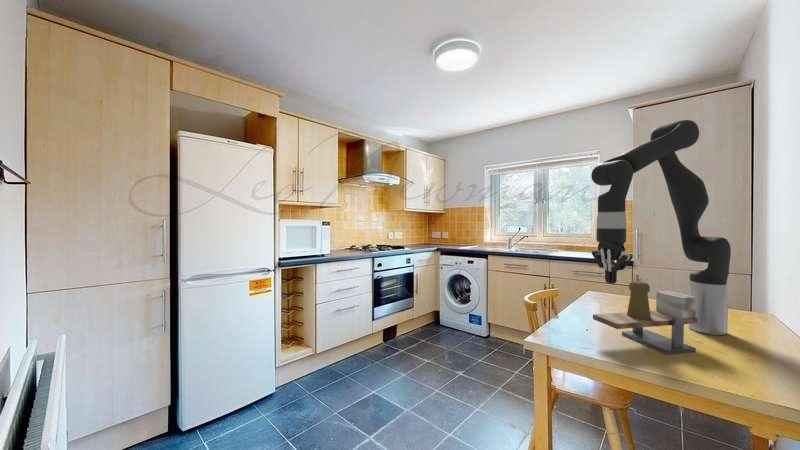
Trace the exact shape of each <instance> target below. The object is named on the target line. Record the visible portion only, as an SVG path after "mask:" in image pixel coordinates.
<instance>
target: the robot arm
mask: <svg viewBox="0 0 800 450" xmlns="http://www.w3.org/2000/svg"><path fill="white" fill-rule="evenodd" d="M650 133H651V134H650V138H649V139H650V141H646V142H644V143H641V144H639V145H637V146H634V147H633V148H630V149H629V150H626V151H625V152H624V153H622V154H620V155H617V156H615V157H612V158H610V159H608V160H607V159H606V160H604V161H603V162H600V163H598V164H597V165H595V167H594V168H593V169H592V171H591V174H590V176H591V180H592V182H593V183H595V185H598V186H604V187H605V186H610V188H609V190H608V191H606V192H603V193H601V194H599V195H598V197H597V215H596V239H595V241H596V242H597V243H598V245H597V249H596V250H592V251H591V255H592V256H593V257H592V258H594V260H595V262H596V263H597V266H598V267H599V268H600V269H601V268H602V269H603V271H604V280H605V283H606V284H610V285H614V284H617V281H618V280H617V276H618V271H623V270H624V269H625V268H626V267H627V265H628V264H629V263H630V262H631V261H632V259H633V258H634V257H633V255H632V254H628V253H627V252H626V247H625V243H627V215H626V199H627V197H628V196H627V195H628V192H629V189H630V186H631V183H632V181H633V180H632V179H633V176H634V174H636V173H638V172H639V171H641V170H643V169H644V168H646V167H648V166H649V165H651V164H652V163H654V162H658V164H659V167H660V169H661V170H662V174H663V176H664V181H665V182H666V187H667V189H668V194H669V197H670V201H671V204H672V206H673V207H672V208H673V209H674V212H675V215H676V219H677V223H678V229H679V233H680V234H679V235H680V239H681V244H682V250H683V253H684V256H685V257H686V259H688V260H689V261H692V262H696V263H705V264H707V267H706V268H705V269H703V270H697V271H691V272H690V274H689V290H688V291H689V292H688V293H689V296H693V297H696V318H697V323H695V324H688V329H690V330H692V331H695V332H698V333H701V334H708V335H713V336H725V335H726V334H727V333H728V324H729V323H728V320H729V318H728V316H729V315H728V314H729V312H728V311H729V307H728V305H727V296H728V295H727V293H728V291H727V289H728V288H727V287H728V277H729V275H730V263H731V253H732V248H731V244H730V242H729V241H728V239H727V238H725V237H720V236H704V235H703V236H702V235H701V233H700V231H699V222H700V220H701V218H702V216H703V214H704V213H705V212H706V209H707V207H708V205H709V203H710V202H709V199H710V198H709V195H708V191H707V188H706V184H705V182H704V181H703V180H702V179H701V178H700V177H699V176H698V175H697V174H696V173H694V172H693V171H692V170H691V169H689V167H688V168H687V166H685V165H684V164H683V163H682V162H681V161H680V160H679V157H678V155H677V153H676V152H678V151H680V150H684V149H687V148H690V147H692V146H694V144H695V143H697V141H698V140H699V137H700V129H699V126H698V124H697V123H696V122H695V121H694V120H690V119H683V120H678V121H674V122H671V123H668V124H663V125H660V126H657V127H655V128H653V129H652V131H651V132H650Z"/></svg>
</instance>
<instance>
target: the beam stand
mask: <svg viewBox="0 0 800 450" xmlns="http://www.w3.org/2000/svg"><path fill="white" fill-rule="evenodd" d="M684 333H685V324H684V318H681V317H677V318H672V326H671V338H670V337H667V336H665V335H663V334H659V333H657V332H654V331H651V330H650V329H644V327H639V328H632V330H623V331H621V335H622V336H623V337H626V338H628V339H630V340H633V341H635V342H637V343H640V344H641V345H645V346H646V347H649V348H652V349H654V350H656V351H658V352H661V353H664V354H665V355H676V354H677V355H679V354H687V353H688V354H689V353H696V350H697V347H694V346H692V345H689V344H687V343H684V335H685V334H684Z"/></svg>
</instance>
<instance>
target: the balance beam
mask: <svg viewBox="0 0 800 450" xmlns="http://www.w3.org/2000/svg"><path fill="white" fill-rule="evenodd" d="M655 296H656V298H655V299H656V300H655V302H656V303H655V305H656V306H655V310H650V314H651V319H649V320H643V319H636V318H632V317H629V316H628V315H627V312H628V311H627V312H626V311H625V312H613V313H612V312H611V313H610V312H609V313H593V314H592V320H594V321H597V322H599V323H602V324H604V325H607V326H609V327H611V328H613V329H616V330H621V329H624V330H625V329H633V328H639V327H643V328H650V327H664V326H671V327H672V318H677V317H681V318H684V325H689V324H695V323H697V318H696V297H693V296H689V295H688V294H684V293H679V292H675V291H670V290H664V291H663V290H662V291H661V290H660V291H656V295H655Z"/></svg>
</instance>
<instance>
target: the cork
mask: <svg viewBox="0 0 800 450" xmlns="http://www.w3.org/2000/svg"><path fill="white" fill-rule="evenodd" d="M628 288H629V290H630V294H629V295H630V296H629V301H628V305H627V315H628V316H629V317H632V318H636V319H643V320H649V319H651V314H650V311H651V309H650V303H649V295H648V294H649V292H650V290H651V287H650V284H649V283H648V282H644V281H640V280H639V281H638V280H634V281H630V282H629V284H628Z"/></svg>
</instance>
